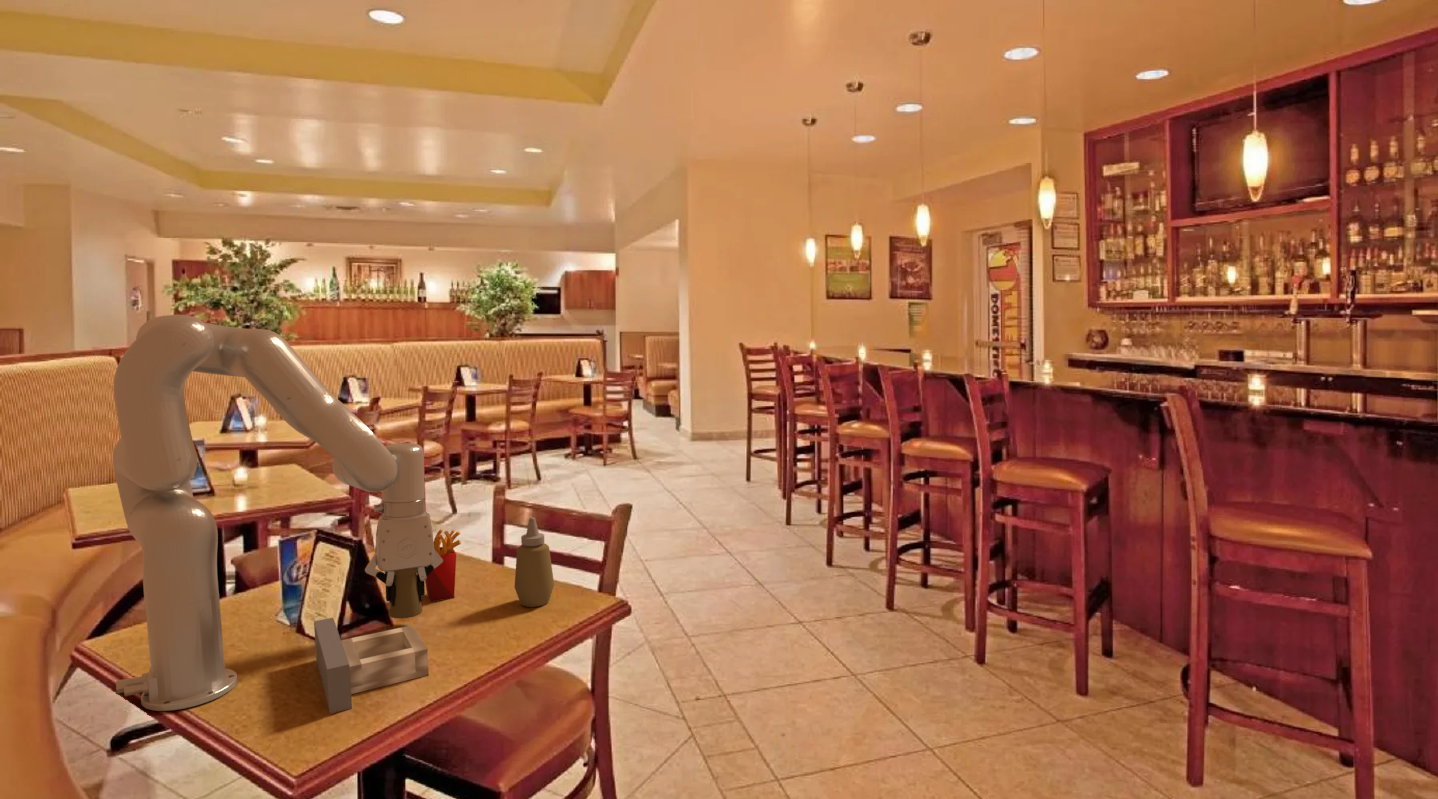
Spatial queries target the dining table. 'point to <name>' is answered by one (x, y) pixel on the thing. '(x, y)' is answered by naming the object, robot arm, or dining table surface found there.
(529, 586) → the squeeze bottle
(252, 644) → the dining table surface
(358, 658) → the holder block
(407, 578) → the pepper mill
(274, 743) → the dining table surface
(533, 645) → the dining table surface
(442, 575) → the french fries
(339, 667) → the backstop wall
